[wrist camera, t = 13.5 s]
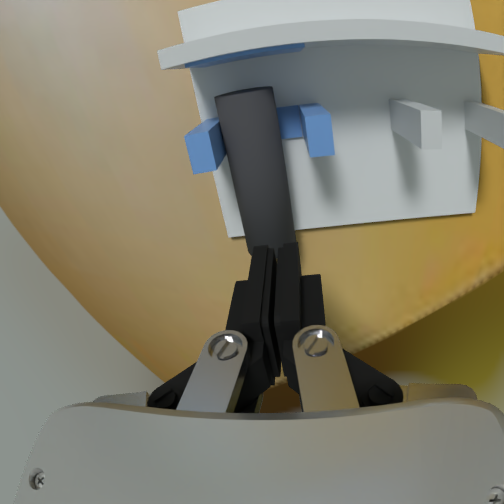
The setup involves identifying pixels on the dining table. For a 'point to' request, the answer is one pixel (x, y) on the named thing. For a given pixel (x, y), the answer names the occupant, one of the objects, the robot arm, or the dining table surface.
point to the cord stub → (257, 165)
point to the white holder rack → (348, 102)
